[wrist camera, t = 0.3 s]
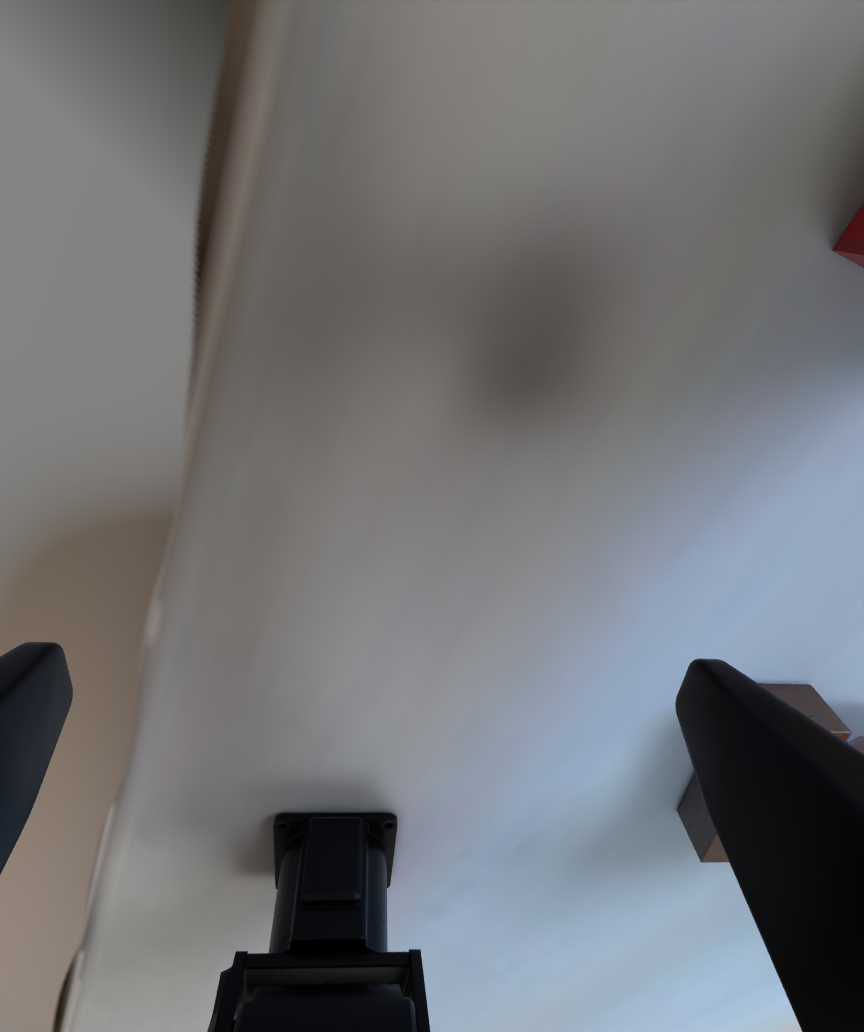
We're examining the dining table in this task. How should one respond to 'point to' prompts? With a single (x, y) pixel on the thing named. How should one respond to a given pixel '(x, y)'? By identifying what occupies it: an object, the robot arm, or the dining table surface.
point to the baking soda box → (853, 240)
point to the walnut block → (693, 802)
